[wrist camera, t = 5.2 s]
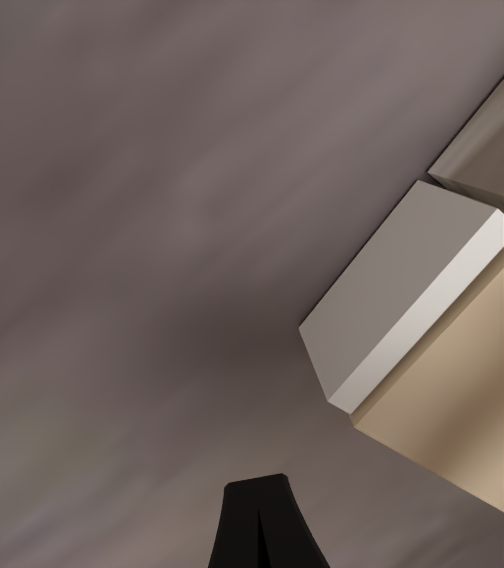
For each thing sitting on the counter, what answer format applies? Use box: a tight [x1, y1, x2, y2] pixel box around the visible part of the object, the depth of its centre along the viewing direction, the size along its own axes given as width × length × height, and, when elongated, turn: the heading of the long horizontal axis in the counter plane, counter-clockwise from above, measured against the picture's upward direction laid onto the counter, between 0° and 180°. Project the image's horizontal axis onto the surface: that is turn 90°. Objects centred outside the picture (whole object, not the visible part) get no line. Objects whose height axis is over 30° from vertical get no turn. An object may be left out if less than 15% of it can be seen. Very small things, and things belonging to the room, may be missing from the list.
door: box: [298, 180, 504, 414], centre depth 16 cm, size 1×8×5 cm, turn 145°
